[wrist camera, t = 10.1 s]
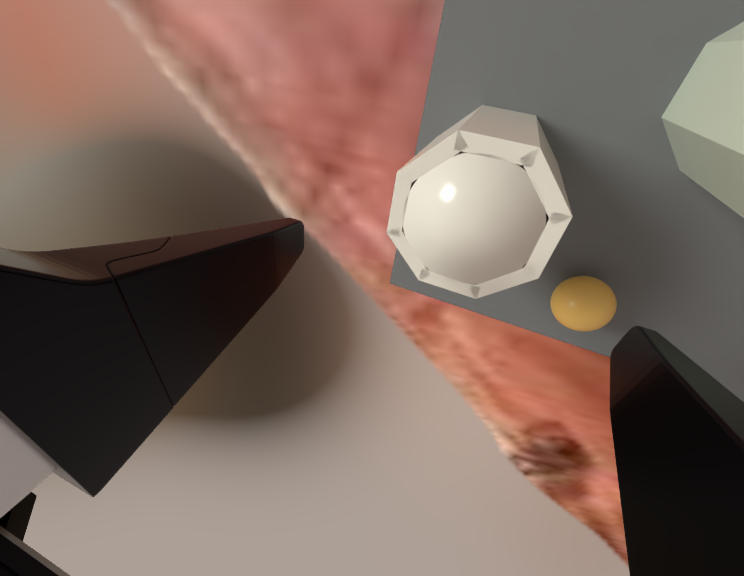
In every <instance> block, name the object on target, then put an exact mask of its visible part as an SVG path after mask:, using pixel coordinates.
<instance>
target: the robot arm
mask: <svg viewBox="0 0 744 576" xmlns="http://www.w3.org/2000/svg"><path fill="white" fill-rule="evenodd" d="M303 249H304V225H303V223H302V222H301V221H299V220H296V219H293V218H285V219H279V220H272V221H265V222H259V223H252V224H246V225H239V226H233V227H227V228H220V229H214V230H207V231H200V232H195V233H187V234H181V235H174V236H172V237H170V236H167V237H161V238H154V239H147V240H140V241H133V242H124V243H116V244H108V245H98V246H89V247H81V248H71V249H63V250H52V251H39V252H28V251H16V250H10V249H4V248H0V576H70V575H68V574H67V573H66V572H64V571H63V570H61V569H60V568H59V567H57V566H56V565H55V564H53V563H52V562H50V561H49V560H48V559H46V558H45V557H43V556H42V555H41V554H39V553H38V552H36V551H35V550H34V549H32V548H31V547H29V546H28V545H27V544H25V543H24V542H23V539H24V535H25V532H26V529H27V526H28V522H29V519H30V516H31V513H32V509H33V506H34V503H35V500H36V495H35V494H34V493H32V492H31V491H33V490H34V489H35V488H36V487H37V486H38V485H39V484H41V483H42V482H43V481H44V480H45V479H46V478H47V477H49V476H50V475H51V474H52V473H55V474H57V475H58V476H60V477H61V478H63V479H64V480H66V481H68V482H69V483H71V484H72V485H74V486H76V487H77V488H79V489H80V490H82V491H84V492H85V493H87V494H88V495H90V496H92V497H94V496H95V495H96V494H97V493H99V491H101V490H102V488H103V487H104V486H105V485H106V484H107V483H108V482H109V480H110V479H111V478H112V477H113V476H114V475H115V474H116V473H117V471H118V470H119V469H120V468H121V467H122V466H123V465H124V463H125V462H126V461H127V460H128V459H129V458H130V457H131V455H132V454H133V453H134V452H135V451H136V450H137V449H138V447H139V446H140V445H141V444H142V443H143V442H144V441H145V439H146V438H147V437H148V436H149V435H150V434H151V433H152V432H153V430H154V429H155V428H156V427H157V426H158V425H159V424H160V422H161V421H162V420H163V419H164V418H165V417H166V415H167V414H168V413H169V412H170V411H171V410H172V409H173V406H175V405H176V404H177V403H178V402H179V400H180V399H181V398H182V397H183V396H184V395H185V394H186V392H187V391H188V390H189V389H190V388H191V387H192V386H193V384H194V383H195V382H196V381H197V380H198V379H199V378H200V376H201V375H202V374H203V373H204V372H205V371H206V370H207V368H208V367H209V366H210V365H211V364H212V363H213V362H214V360H215V359H216V358H217V357H218V356H219V355H220V354H221V352H222V351H223V350H224V349H225V348H226V347H227V345H228V344H229V343H230V342H231V341H232V340H233V338H235V336H236V335H237V334H238V333H239V332H240V331H241V330H242V328H243V327H244V326H245V325H246V324H247V322H248V321H249V320H250V319H251V318H252V317H253V316H254V315H255V314H256V312H257V311H258V310H259V309H260V308H261V307H262V306H263V304H264V303H265V302H266V301H267V300H268V299H269V298H270V296H271V295H272V294H273V293H274V292H275V290H276V289H277V288H278V287H279V286H280V284H281V283H282V281H283V280H284V278H285V277H286V276H287V274H288V273H289V271H290V270H291V268H292V267H293V265H294V264H295V262H296V261H297V260H298V258H299V257H300V255H301V254H302V252H303ZM610 416H611V425H612V433H613V441H614V449H615V458H616V466H617V474H618V482H619V490H620V498H621V506H622V515H623V523H624V531H625V539H626V547H627V555H628V563H629V571H630V576H744V402H743V401H742V400H740V399H739V398H738V397H737V396H736V395H734V394H733V393H732V392H731V391H729V390H728V389H727V388H726V387H724V386H723V385H722V384H721V383H720V382H718V381H717V380H716V379H715V378H713V377H712V376H711V375H710V374H708V373H707V372H706V371H705V370H704V369H702V368H701V367H700V366H699V365H697V364H696V363H695V362H694V361H692V360H691V359H690V358H689V357H688V356H686V355H685V354H684V353H683V352H681V351H680V350H679V349H678V348H676V347H675V346H674V345H673V344H672V343H670V342H669V341H668V340H667V339H665V338H664V337H663V336H662V335H660V334H659V333H658V332H657V331H654V330H651V329H648V328H645V327H642V326H634V327H632V328H631V329H630V330H629V331H628V332H627V333H626V334H625V335H624V336H623V337H622V339H621V340H620V341H619V342H618V343H617V344H616V346H615V347H614V348H613V350H612V352H611V356H610Z"/></svg>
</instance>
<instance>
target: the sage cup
mask: <svg viewBox="0 0 744 576" xmlns="http://www.w3.org/2000/svg"><path fill="white" fill-rule="evenodd" d="M661 118H662V121H663V124H664V127H665V130H666V132H667V135H668V138H669V141H670V144H671V147H672V150H673V153H674V156H675V159H676V161H677V164H678V167H679V170H680V171H682V172H683V173H684V174H686V175H687V176H688V177H690V178H691V179H692V180H694V181H695V182H696V183H698V184H699V185H700V186H702V187H703V188H704V189H706V190H707V191H708V192H710V193H711V194H712V195H714V196H715V197H716V198H718V199H719V200H720V201H722V202H723V203H724V204H726V205H727V206H728V207H730V208H731V209H733V210H734V211H735V212H737V213H738V214H739V215H741V216H742V217H743V218H744V22H742V23H740V24H739V25H737V26H735V27H733V28H732V29H730V30H728V31H726V32H725V33H723V34H721V35H720V36H718V37H716V38H714V39H713V40H711V41H709V42H707V43H706V45H705V46H704V48H703V50H702V51H701V53H700V54H699V56H698V58H697V59H696V61H695V63H694V64H693V66H692V68H691V69H690V71H689V73H688V74H687V76H686V77H685V79H684V81H683V82H682V84H681V86H680V87H679V89H678V91H677V92H676V94H675V96H674V97H673V99H672V101H671V102H670V104H669V105H668V107H667V109H666V110H665V112H664V114H663V115H662V117H661Z"/></svg>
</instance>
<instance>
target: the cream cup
mask: <svg viewBox="0 0 744 576" xmlns="http://www.w3.org/2000/svg"><path fill="white" fill-rule="evenodd" d="M572 217H573V216H572V213H571V209H570V205H569V202H568V198H567V194H566V191H565V187H564V184H563V180H562V176H561V173H560V169H559V165H558V163H557V160H556V158H555V156H554V154H553V152H552V149H551V147H550V145H549V143H548V141H547V138H546V136H545V134H544V132H543V130H542V127H541V125H540V123H539V121H538V119H537V117H536V115H531V114H526V113H521V112H516V111H511V110H506V109H501V108H496V107H490V106H485V105H482V106H480V107H479V108H477V109H476V110H475V111H473V112H472V113H470V114H469V115H467V116H466V117H465V118H463V119H462V120H460V121H459V122H458V123H456V124H455V125H453V126H452V127H450V128H449V129H448V130H446V131H445V132H443V133H442V134H440V135H439V136H437V137H436V138H435V139H434V140H433V141H432V142H431V143H429V144H428V145H427V146H426V147H425V148H424V149H423V150H421V151H420V152H419V153H418V154H417V155H416V156H415V157H413V158H412V159H411V160H410V161H409V162H408V163H407V164H405V165H404V166H403V167H402V168H401V169H400V170H399V171H397V175H396V181H395V187H394V193H393V198H392V204H391V210H390V216H389V222H388V228H387V234H388V235H389V237H390V238H391V240H392V241H393V243H394V244H395V246H396V247H397V249H398V250H399V252H400V253H401V255H402V256H403V258H404V259H405V261H406V262H407V264H408V265H409V267H410V268H411V270H412V271H413V273H414V274H415V276H416V277H417V279H418V280H420V281H423V282H426V283H429V284H432V285H435V286H438V287H441V288H444V289H447V290H450V291H453V292H456V293H459V294H462V295H465V296H468V297H471V298H474V299H477V298H480V297H483V296H486V295H490V294H493V293H496V292H499V291H502V290H505V289H508V288H511V287H514V286H517V285H520V284H523V283H526V282H529V281H532V280H535V279H538V278H539V277H540V275H541V273H542V271H543V269H544V267H545V266H546V264H547V262H548V260H549V258H550V257H551V255H552V253H553V251H554V249H555V248H556V246H557V244H558V242H559V240H560V239H561V237H562V235H563V233H564V231H565V230H566V228H567V226H568V224H569V222H570V220H571V219H572Z"/></svg>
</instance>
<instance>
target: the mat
mask: <svg viewBox="0 0 744 576" xmlns="http://www.w3.org/2000/svg"><path fill="white" fill-rule="evenodd" d="M742 22H744V0H445V3H444V8H443V13H442V18H441V24H440V29H439V34H438V39H437V44H436V49H435V54H434V59H433V65H432V70H431V75H430V80H429V85H428V90H427V95H426V100H425V106H424V111H423V116H422V121H421V126H420V131H419V136H418V141H417V147H416V152H415V156H416V155H417V154H418V153H419V152H420V151H421V150H423V149H424V148H425V147H426V146H427V145H428V144H429V143H431V142H432V141H433V140H434V139H435V138H436V137H437V136H439V135H440V134H442V133H443V132H445V131H446V130H448V129H449V128H450V127H452V126H453V125H455V124H456V123H458V122H459V121H460V120H462V119H463V118H465V117H466V116H467V115H469V114H470V113H472V112H473V111H475V110H476V109H477V108H479V107H480V106H482V105H485V106H490V107H496V108H501V109H506V110H511V111H516V112H521V113H526V114H531V115H536V117H537V119H538V121H539V123H540V125H541V127H542V130H543V132H544V134H545V136H546V138H547V141H548V143H549V145H550V147H551V149H552V152H553V154H554V156H555V158H556V160H557V163H558V165H559V169H560V173H561V176H562V180H563V184H564V187H565V191H566V194H567V198H568V202H569V205H570V209H571V213H572V216H573V217H572V219H571V220H570V222H569V224H568V226H567V228H566V230H565V231H564V233H563V235H562V237H561V239H560V240H559V242H558V244H557V246H556V248H555V249H554V251H553V253H552V255H551V257H550V258H549V260H548V262H547V264H546V266H545V267H544V269H543V271H542V273H541V275H540V277H539V278H538V279H535V280H532V281H529V282H526V283H523V284H520V285H517V286H514V287H511V288H508V289H505V290H502V291H499V292H496V293H493V294H490V295H486V296H483V297H480V298H477V299H474V298H471V297H468V296H465V295H462V294H459V293H456V292H453V291H450V290H447V289H444V288H441V287H438V286H435V285H432V284H429V283H426V282H423V281H420V280H418V279H417V277H416V276H415V274H414V273H413V271H412V270H411V268H410V267H409V265H408V264H407V262H406V261H405V259H404V258H403V256H402V255H401V253H400V252H399V250H398V249H396V254H395V259H394V264H393V269H392V275H391V280H390V284H393V285H396V286H399V287H402V288H405V289H408V290H411V291H414V292H417V293H420V294H423V295H426V296H429V297H432V298H435V299H438V300H441V301H444V302H447V303H450V304H453V305H456V306H459V307H462V308H465V309H468V310H471V311H474V312H477V313H480V314H483V315H486V316H488V317H491V318H494V319H497V320H500V321H503V322H506V323H509V324H512V325H515V326H518V327H521V328H524V329H527V330H530V331H533V332H536V333H539V334H542V335H545V336H548V337H551V338H554V339H557V340H560V341H563V342H566V343H569V344H572V345H575V346H578V347H581V348H584V349H587V350H590V351H593V352H596V353H599V354H602V355H605V356H608V357H610V356H611V352H612V350H613V348H614V347H615V346H616V344H617V343H618V342H619V341H620V340H621V339H622V337H623V336H624V335H625V334H626V333H627V332H628V331H629V330H630V329H631V328H632V327H634V326H642V327H645V328H648V329H651V330H654V331H657V332H658V333H659V334H660V335H662V336H663V337H664V338H665V339H667V340H668V341H669V342H670V343H672V344H673V345H674V346H675V347H676V348H678V349H679V350H680V351H681V352H683V353H684V354H685V355H686V356H688V357H689V358H690V359H691V360H692V361H694V362H695V363H696V364H697V365H699V366H700V367H701V368H702V369H704V370H705V371H706V372H707V373H708V374H710V375H711V376H712V377H713V378H715V379H716V380H717V381H718V382H720V383H721V384H722V385H723V386H724V387H726V388H727V389H728V390H729V391H731V392H732V393H733V394H734V395H736V396H737V397H738V398H739V399H740V400H742V401H743V402H744V218H743V217H742V216H741V215H739V214H738V213H737V212H735V211H734V210H733V209H731V208H730V207H728V206H727V205H726V204H724V203H723V202H722V201H720V200H719V199H718V198H716V197H715V196H714V195H712V194H711V193H710V192H708V191H707V190H706V189H704V188H703V187H702V186H700V185H699V184H698V183H696V182H695V181H694V180H692V179H691V178H690V177H688V176H687V175H686V174H684V173H683V172H682V171H680V170H679V167H678V164H677V161H676V159H675V156H674V153H673V150H672V147H671V144H670V141H669V138H668V135H667V132H666V130H665V127H664V124H663V121H662V118H661V117H662V115H663V114H664V112H665V110H666V109H667V107H668V105H669V104H670V102H671V101H672V99H673V97H674V96H675V94H676V92H677V91H678V89H679V87H680V86H681V84H682V82H683V81H684V79H685V77H686V76H687V74H688V73H689V71H690V69H691V68H692V66H693V64H694V63H695V61H696V59H697V58H698V56H699V54H700V53H701V51H702V50H703V48H704V46H705V45H706V43H707V42H709V41H711V40H713V39H714V38H716V37H718V36H720V35H721V34H723V33H725V32H726V31H728V30H730V29H732V28H733V27H735V26H737V25H739V24H740V23H742ZM576 276H590V277H594V278H597V279H599V280H601V281H603V282H604V283H606V284H607V285H608V286H609V287H610V288H611V289H612V291H613V292H614V294H615V297H616V301H617V307H616V312H615V314H614V316H613V318H612V319H611V320H610V322H609V323H607V324H606V325H605V326H603V327H601V328H599V329H597V330H593V331H576V330H572V329H570V328H567V327H565V326H564V325H562V324H561V323H560V322H559V321H558V320H557V319H556V318H555V316H554V315H553V313H552V310H551V305H550V301H551V296H552V293H553V291H554V290H555V288H556V287H557V286H558V285H559V284H560V283H561V282H563V281H564V280H566V279H569V278H571V277H576Z"/></svg>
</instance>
